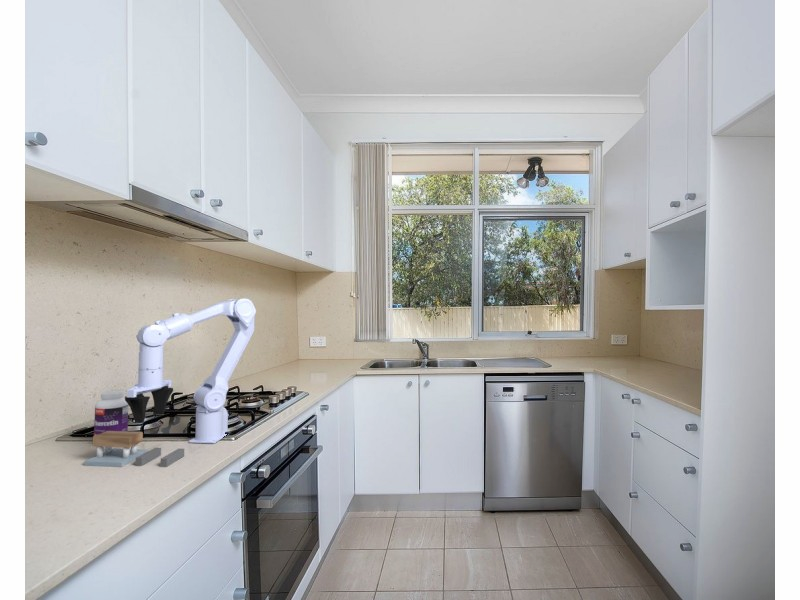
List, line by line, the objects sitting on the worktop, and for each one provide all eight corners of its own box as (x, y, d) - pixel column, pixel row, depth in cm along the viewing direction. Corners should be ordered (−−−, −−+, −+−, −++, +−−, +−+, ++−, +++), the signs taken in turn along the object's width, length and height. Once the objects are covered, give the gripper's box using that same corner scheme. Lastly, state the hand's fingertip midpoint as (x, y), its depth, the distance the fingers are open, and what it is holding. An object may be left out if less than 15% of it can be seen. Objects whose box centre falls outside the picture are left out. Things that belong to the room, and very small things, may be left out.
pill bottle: (87, 446, 110) (88, 395, 110) (103, 437, 117) (104, 389, 118) (119, 444, 111) (120, 394, 111) (132, 435, 119) (133, 388, 119)
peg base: (113, 452, 105) (113, 437, 105) (147, 453, 104) (148, 438, 105) (83, 465, 96) (84, 449, 96) (121, 466, 96) (121, 450, 96)
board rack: (155, 455, 103) (155, 447, 103) (184, 456, 103) (184, 448, 103) (135, 465, 96) (135, 457, 96) (166, 466, 96) (166, 458, 96)
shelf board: (107, 440, 103) (107, 430, 103) (142, 441, 102) (142, 432, 102) (92, 446, 99) (93, 436, 99) (129, 447, 98) (129, 437, 98)
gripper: (155, 364, 113) (154, 410, 113) (115, 372, 99) (114, 425, 98) (178, 364, 113) (177, 411, 112) (141, 373, 98) (140, 426, 98)
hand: (149, 418), depth 105 cm, fingers open, 7 cm apart
